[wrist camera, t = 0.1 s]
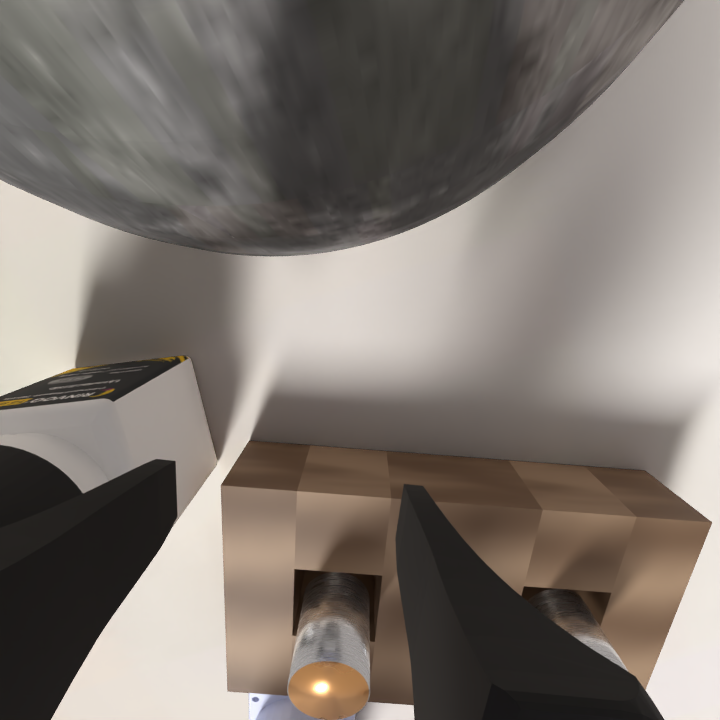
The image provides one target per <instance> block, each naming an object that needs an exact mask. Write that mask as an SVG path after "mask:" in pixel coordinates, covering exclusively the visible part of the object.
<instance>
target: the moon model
mask: <svg viewBox="0 0 720 720" xmlns="http://www.w3.org/2000/svg"><path fill="white" fill-rule="evenodd" d="M683 1H684V0H0V180H2V181H4V182H6V183H8V184H10V185H13V186H15V187H17V188H19V189H22V190H24V191H26V192H28V193H31V194H33V195H35V196H37V197H40V198H42V199H44V200H47V201H49V202H51V203H54V204H56V205H58V206H61V207H63V208H66V209H68V210H70V211H73V212H75V213H77V214H80V215H82V216H84V217H87V218H89V219H92V220H95V221H97V222H100V223H102V224H105V225H108V226H111V227H114V228H117V229H119V230H122V231H125V232H129V233H132V234H136V235H139V236H143V237H146V238H150V239H154V240H158V241H163V242H167V243H171V244H176V245H182V246H187V247H192V248H197V249H202V250H208V251H213V252H220V253H228V254H237V255H249V256H295V255H309V254H317V253H325V252H331V251H337V250H343V249H347V248H352V247H356V246H361V245H365V244H368V243H372V242H375V241H379V240H382V239H385V238H388V237H391V236H394V235H397V234H400V233H402V232H405V231H408V230H410V229H413V228H415V227H418V226H420V225H422V224H424V223H427V222H429V221H431V220H433V219H435V218H437V217H439V216H441V215H443V214H445V213H447V212H449V211H451V210H453V209H455V208H457V207H458V206H460V205H462V204H464V203H465V202H467V201H469V200H471V199H472V198H474V197H475V196H477V195H479V194H480V193H482V192H483V191H485V190H486V189H488V188H490V187H491V186H492V185H494V184H495V183H497V182H498V181H499V180H501V179H502V178H504V177H505V176H507V175H508V174H509V173H511V172H512V171H513V170H514V169H516V168H517V167H518V166H520V165H521V164H522V163H523V162H525V161H526V160H527V159H528V158H530V157H531V156H532V155H533V154H535V153H536V152H537V151H538V150H540V149H541V148H542V147H543V146H545V145H546V144H547V143H548V142H550V141H551V140H552V139H553V138H554V137H556V136H557V135H558V134H559V133H560V132H561V131H563V130H564V129H565V128H566V127H567V126H568V125H570V124H571V123H572V122H573V121H574V120H575V119H576V118H577V117H578V116H579V115H580V114H582V113H583V112H584V111H585V110H586V109H587V108H588V107H589V106H590V105H591V104H592V103H593V102H594V101H595V100H596V99H597V98H598V97H599V96H600V95H601V94H602V93H603V92H604V91H605V90H606V89H607V88H608V87H609V86H610V85H611V84H612V83H613V82H614V81H615V79H616V78H617V77H618V76H619V75H620V74H621V73H622V72H623V71H624V70H625V68H626V67H627V66H628V65H629V64H630V63H631V62H632V61H633V59H634V58H635V57H636V56H637V55H638V54H639V52H640V51H641V50H642V49H643V48H644V47H645V45H646V44H647V43H648V42H649V41H650V40H651V38H652V37H653V36H654V35H655V34H656V33H657V32H658V30H659V29H660V28H661V27H662V26H663V25H664V23H665V22H666V21H667V20H668V19H669V18H670V16H671V15H672V14H673V13H674V12H675V10H676V9H677V8H678V7H679V6H680V5H681V3H682V2H683Z"/></svg>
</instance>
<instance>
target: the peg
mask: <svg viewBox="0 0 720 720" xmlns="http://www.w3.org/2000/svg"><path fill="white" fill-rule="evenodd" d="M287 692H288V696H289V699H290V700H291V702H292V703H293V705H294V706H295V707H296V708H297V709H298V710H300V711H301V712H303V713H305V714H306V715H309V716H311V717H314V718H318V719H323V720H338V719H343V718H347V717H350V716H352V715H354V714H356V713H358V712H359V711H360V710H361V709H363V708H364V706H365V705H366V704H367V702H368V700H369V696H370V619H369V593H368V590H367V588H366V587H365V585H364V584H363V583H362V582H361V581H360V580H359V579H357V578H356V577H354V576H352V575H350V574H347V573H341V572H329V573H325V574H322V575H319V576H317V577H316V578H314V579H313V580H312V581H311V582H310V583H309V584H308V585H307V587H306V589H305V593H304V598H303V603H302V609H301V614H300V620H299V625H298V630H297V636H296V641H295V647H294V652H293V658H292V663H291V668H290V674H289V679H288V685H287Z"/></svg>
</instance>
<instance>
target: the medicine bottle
mask: <svg viewBox="0 0 720 720" xmlns="http://www.w3.org/2000/svg"><path fill="white" fill-rule="evenodd" d="M155 459H162V460H172V461H176V486H177V513H178V516H177V518H176V520H175V522H174V524H175V523H176V521H177V520H178V519H179V517H180V516H181V514H182V513H183V512H184V510H185V509H186V507H187V506H188V505H189V503H190V502H191V500H192V499H193V498H194V496H195V495H196V493H197V492H198V491H199V489H200V488H201V486H202V485H203V484H204V482H205V481H206V479H207V478H208V477H209V475H210V474H211V472H212V471H213V470H214V468H215V467H216V465H217V458H216V454H215V450H214V446H213V442H212V438H211V435H210V431H209V427H208V423H207V419H206V415H205V411H204V407H203V403H202V400H201V396H200V392H199V388H198V384H197V380H196V376H195V372H194V368H193V364H192V361H191V359H190V357H188V356H176V357H167V358H159V359H150V360H142V361H133V362H125V363H116V364H108V365H99V366H91V367H83V368H74V369H71V370H68V371H66V372H63V373H60V374H58V375H55V376H53V377H50V378H47V379H45V380H42V381H40V382H37V383H34V384H32V385H29V386H27V387H24V388H21V389H19V390H16V391H14V392H11V393H8V394H6V395H3V396H1V397H0V528H2V527H5V526H7V525H10V524H12V523H15V522H18V521H20V520H23V519H26V518H28V517H31V516H33V515H36V514H38V513H40V512H43V511H45V510H47V509H50V508H52V507H54V506H56V505H59V504H61V503H63V502H65V501H67V500H70V499H72V498H74V497H76V496H79V495H81V494H83V493H85V492H87V491H89V490H92V489H94V488H96V487H98V486H100V485H102V484H104V483H106V482H108V481H110V480H112V479H114V478H116V477H118V476H120V475H122V474H124V473H126V472H128V471H130V470H132V469H135V468H137V467H139V466H141V465H143V464H145V463H148V462H150V461H152V460H155ZM174 524H173V525H174ZM172 527H173V526H172Z"/></svg>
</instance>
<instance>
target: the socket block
mask: <svg viewBox="0 0 720 720" xmlns="http://www.w3.org/2000/svg"><path fill="white" fill-rule="evenodd" d="M404 484H410V485H420V486H424V488H425V489H426V490H427V492H428V493H429V494H430V496H431V497H432V499H433V500H434V502H435V503H436V504H437V506H438V507H439V508H440V510H441V511H442V512H443V514H444V515H445V517H446V518H447V519H448V520H449V522H450V523H451V524H452V526H453V527H454V528H455V529H456V531H457V532H458V533H459V534H460V536H461V537H462V538H463V539H464V540H465V541H466V543H467V544H468V545H469V546H470V547H471V548H472V549H473V550H474V551H475V553H476V554H477V555H478V556H479V557H480V558H481V559H482V560H483V561H484V562H485V563H486V564H487V565H488V566H489V567H490V568H491V569H492V570H493V571H494V572H495V573H496V574H497V575H498V576H499V577H500V578H501V579H502V580H503V581H504V582H506V583H507V584H508V585H509V586H510V587H511V588H512V589H513V590H515V591H516V592H517V593H518V594H519V595H520V596H522V597H523V598H524V599H525V600H527V601H528V600H529V599H530V598H531V597H532V596H534V595H536V594H537V593H539V592H542V591H545V590H549V589H566V590H570V591H572V592H575V593H576V594H578V595H579V596H580V597H581V598H582V599H583V600H584V602H585V603H586V605H587V606H588V608H589V610H590V611H591V613H592V614H593V616H594V618H595V619H596V621H597V622H598V624H599V626H600V627H601V629H602V630H603V632H604V633H605V635H606V637H607V638H608V640H609V641H610V643H611V645H612V646H613V648H614V649H615V651H616V653H617V654H618V656H619V657H620V659H621V660H622V662H623V664H624V665H625V667H626V668H627V670H628V672H629V673H631V674H633V675H634V676H636V678H637V679H638V681H639V682H640V683H641V685H642V686H643V688H644V689H646V687H647V684H648V682H649V679H650V677H651V674H652V672H653V669H654V667H655V664H656V662H657V659H658V657H659V654H660V652H661V649H662V647H663V644H664V642H665V639H666V637H667V634H668V632H669V629H670V627H671V624H672V622H673V619H674V617H675V614H676V612H677V609H678V607H679V604H680V602H681V599H682V597H683V594H684V592H685V589H686V587H687V584H688V582H689V579H690V577H691V574H692V572H693V569H694V567H695V564H696V562H697V559H698V557H699V554H700V552H701V549H702V547H703V544H704V542H705V539H706V537H707V534H708V532H709V529H710V527H711V524H712V522H711V521H710V520H708V519H707V518H706V517H704V516H703V515H702V514H700V513H699V512H698V511H697V510H695V509H694V508H693V507H691V506H690V505H689V504H688V503H686V502H685V501H684V500H682V499H681V498H680V497H678V496H677V495H676V494H675V493H673V492H672V491H671V490H669V489H668V488H667V487H666V486H664V485H663V484H662V483H660V482H659V481H658V480H656V479H655V478H654V477H653V476H651V475H650V474H649V473H647V472H646V471H642V470H628V469H615V468H602V467H589V466H576V465H563V464H550V463H536V462H523V461H510V460H497V459H484V458H471V457H457V456H444V455H431V454H418V453H405V452H392V451H379V450H365V449H352V448H339V447H326V446H313V445H300V444H286V443H273V442H260V441H249V442H248V443H247V445H246V447H245V448H244V450H243V451H242V453H241V454H240V456H239V458H238V459H237V461H236V462H235V464H234V466H233V467H232V469H231V470H230V472H229V473H228V475H227V477H226V478H225V480H224V481H223V483H222V484H221V504H222V535H223V566H224V597H225V628H226V659H227V690H228V691H229V692H243V693H256V694H270V695H283V696H288V692H287V685H288V679H289V674H290V668H291V663H292V658H293V652H294V647H295V641H296V636H297V630H298V625H299V620H300V614H301V609H302V603H303V598H304V593H305V589H306V587H307V585H308V584H309V583H310V582H311V581H312V580H313V579H314V578H316V577H317V576H319V575H322V574H325V573H329V572H341V573H347V574H350V575H352V576H354V577H356V578H357V579H359V580H360V581H361V582H362V583H363V584H364V585H365V587H366V588H367V590H368V593H369V619H370V696H369V700H368V702H379V703H392V704H406V705H414V701H413V687H412V673H411V662H410V654H409V646H408V640H407V633H406V627H405V621H404V614H403V608H402V602H401V595H400V589H399V582H398V575H397V565H396V541H395V537H396V531H397V524H398V518H399V511H400V505H401V498H402V492H403V486H404Z"/></svg>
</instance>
